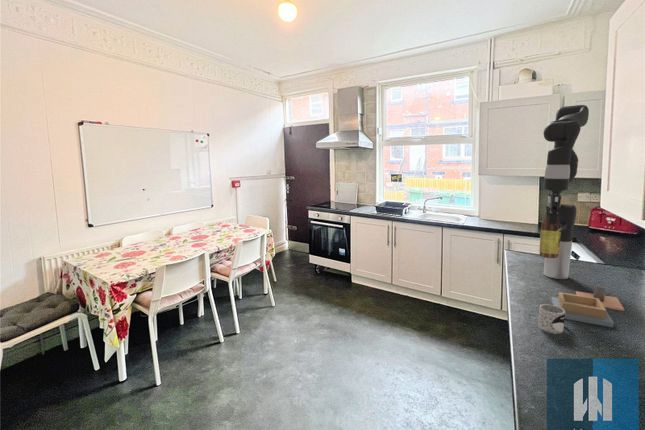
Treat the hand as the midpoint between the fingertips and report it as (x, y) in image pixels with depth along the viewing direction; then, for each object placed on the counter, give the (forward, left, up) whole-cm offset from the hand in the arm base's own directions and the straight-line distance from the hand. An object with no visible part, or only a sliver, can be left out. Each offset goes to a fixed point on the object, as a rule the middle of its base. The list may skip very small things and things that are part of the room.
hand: (551, 221), depth 123 cm
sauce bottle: (0, 0, -14) cm, 14 cm away
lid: (-4, +17, -30) cm, 35 cm away
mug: (+27, 0, -30) cm, 40 cm away
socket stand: (+11, +9, -30) cm, 33 cm away
